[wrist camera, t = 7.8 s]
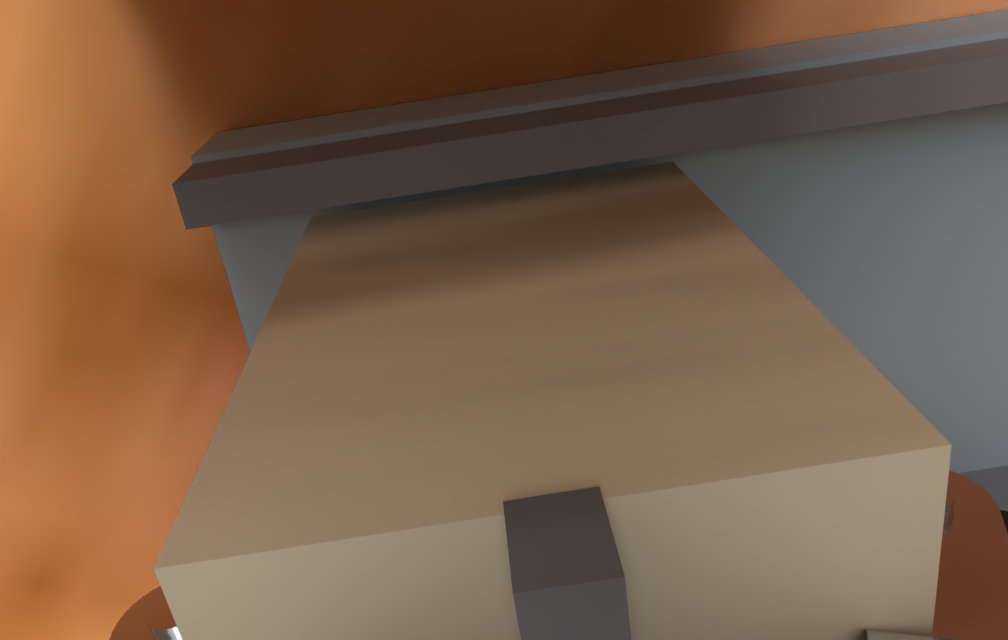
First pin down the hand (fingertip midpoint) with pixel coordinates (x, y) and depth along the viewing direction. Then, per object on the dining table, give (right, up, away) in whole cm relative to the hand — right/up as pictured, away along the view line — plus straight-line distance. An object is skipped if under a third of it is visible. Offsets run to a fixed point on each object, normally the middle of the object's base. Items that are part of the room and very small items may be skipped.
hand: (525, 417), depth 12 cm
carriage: (0, 0, +1) cm, 1 cm away
